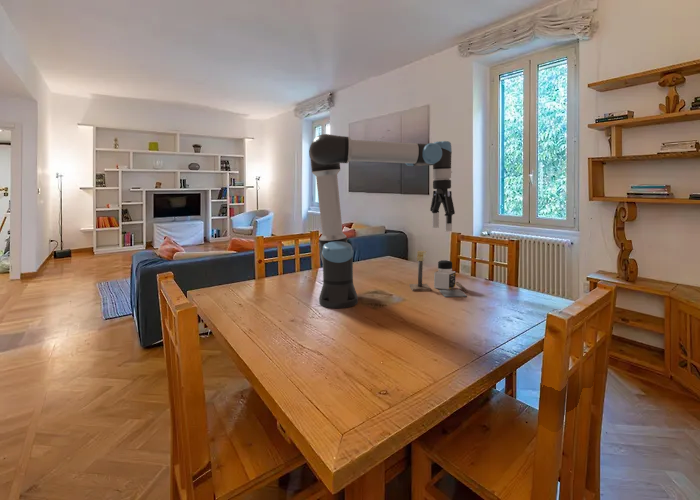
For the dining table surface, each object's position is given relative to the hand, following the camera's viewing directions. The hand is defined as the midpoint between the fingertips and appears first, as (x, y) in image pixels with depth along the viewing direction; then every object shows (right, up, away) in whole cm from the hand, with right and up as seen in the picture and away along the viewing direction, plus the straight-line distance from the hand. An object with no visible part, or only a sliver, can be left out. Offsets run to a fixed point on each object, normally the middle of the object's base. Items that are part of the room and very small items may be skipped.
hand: (441, 229), depth 165 cm
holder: (-1, -26, +4) cm, 26 cm away
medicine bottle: (+2, -26, +4) cm, 26 cm away
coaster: (+4, -27, -4) cm, 28 cm away
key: (-8, -13, +5) cm, 16 cm away
